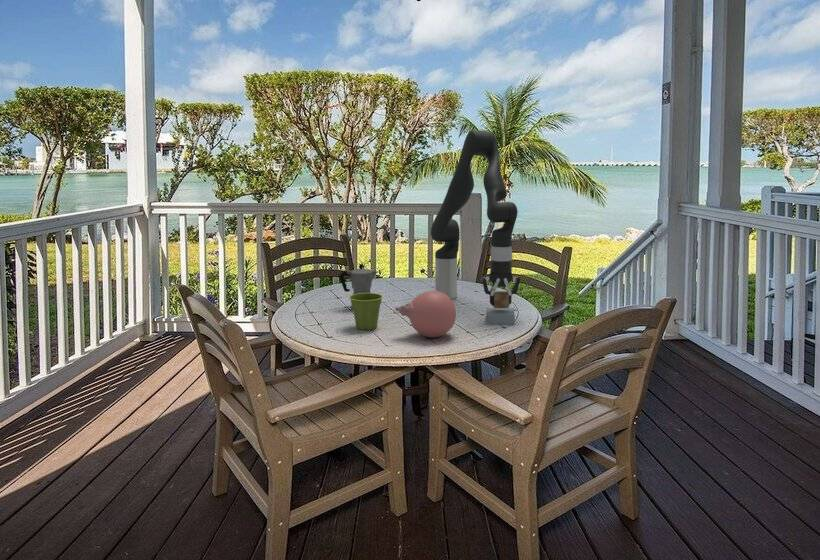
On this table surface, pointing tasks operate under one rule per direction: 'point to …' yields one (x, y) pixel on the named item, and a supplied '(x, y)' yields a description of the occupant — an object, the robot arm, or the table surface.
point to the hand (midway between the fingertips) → (500, 305)
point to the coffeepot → (358, 280)
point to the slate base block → (500, 316)
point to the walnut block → (501, 299)
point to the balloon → (430, 313)
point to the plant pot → (366, 309)
